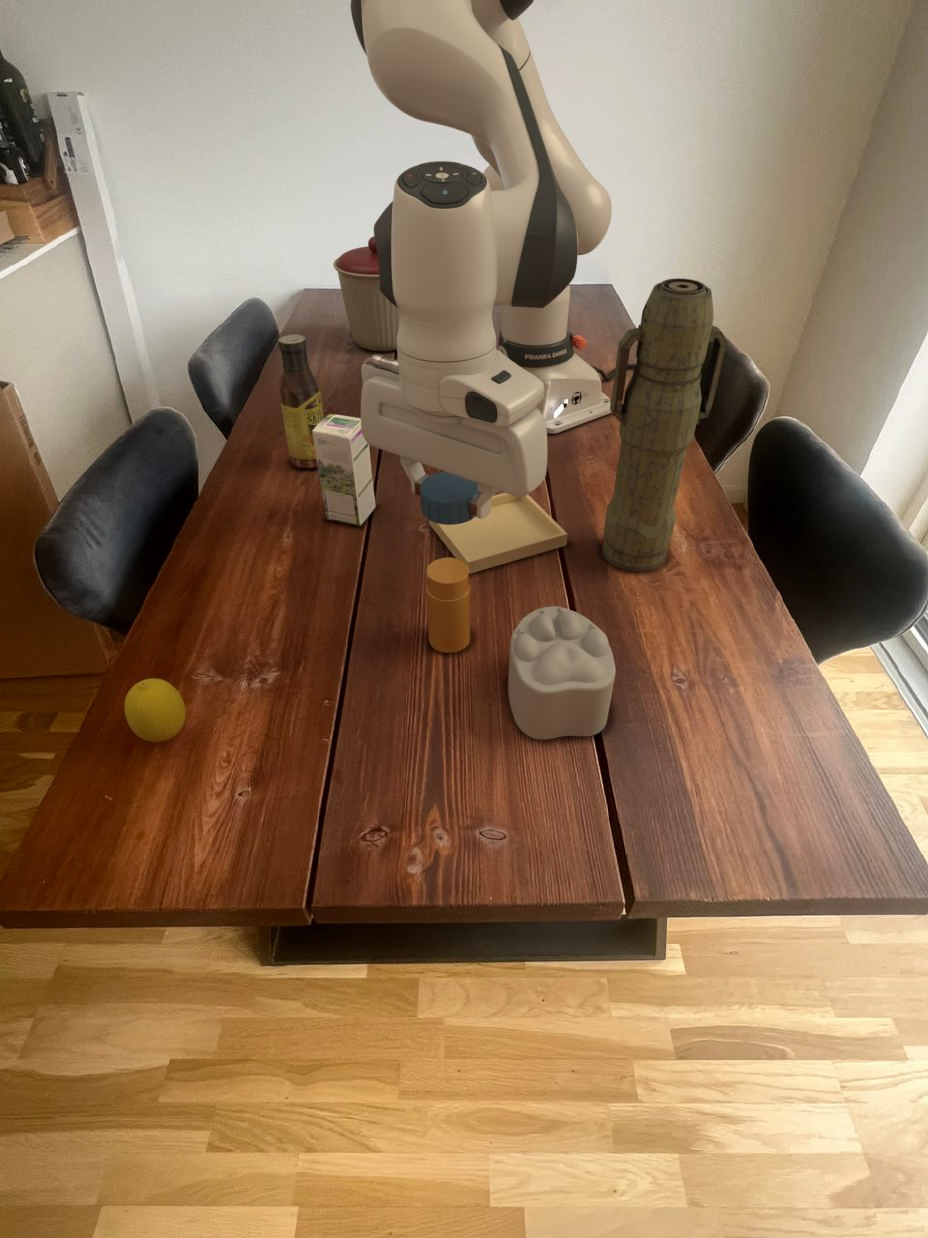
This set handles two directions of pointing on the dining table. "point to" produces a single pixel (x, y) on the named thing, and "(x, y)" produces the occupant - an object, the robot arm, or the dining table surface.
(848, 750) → the dining table surface
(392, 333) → the canister
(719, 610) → the dining table surface
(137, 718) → the lemon
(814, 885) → the dining table surface
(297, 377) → the sauce bottle
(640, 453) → the thermos
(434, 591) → the jar
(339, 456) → the syrup box
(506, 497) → the tray
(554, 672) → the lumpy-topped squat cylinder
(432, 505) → the lid
